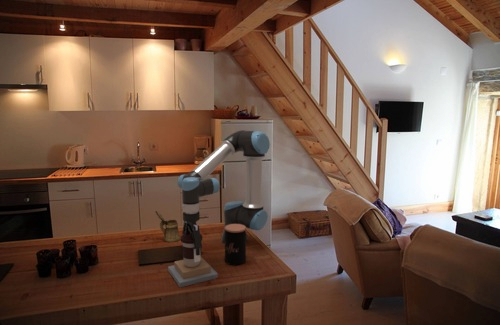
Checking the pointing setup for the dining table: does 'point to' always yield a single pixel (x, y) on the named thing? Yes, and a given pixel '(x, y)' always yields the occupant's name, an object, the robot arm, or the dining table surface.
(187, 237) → the coffee cup
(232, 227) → the coffee jar
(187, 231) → the robot arm
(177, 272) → the base
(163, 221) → the brass coffee pot
